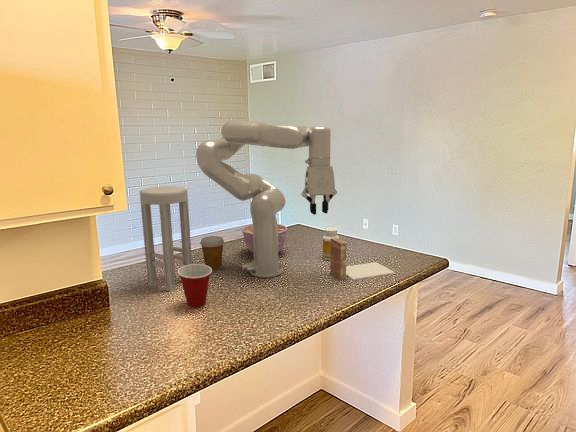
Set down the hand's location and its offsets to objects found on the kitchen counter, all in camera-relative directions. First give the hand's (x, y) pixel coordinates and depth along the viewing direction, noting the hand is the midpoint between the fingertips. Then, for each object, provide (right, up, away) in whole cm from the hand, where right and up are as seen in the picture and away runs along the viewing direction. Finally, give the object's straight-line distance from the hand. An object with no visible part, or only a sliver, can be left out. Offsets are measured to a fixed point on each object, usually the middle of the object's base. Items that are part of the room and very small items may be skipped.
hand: (319, 212), depth 153 cm
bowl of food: (-21, -18, +36) cm, 46 cm away
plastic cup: (-41, -30, -15) cm, 53 cm away
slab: (+8, -24, +8) cm, 27 cm away
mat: (+19, -23, +13) cm, 32 cm away
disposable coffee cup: (-42, -22, +19) cm, 51 cm away
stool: (-54, -26, +3) cm, 60 cm away
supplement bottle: (+7, -19, +29) cm, 36 cm away
